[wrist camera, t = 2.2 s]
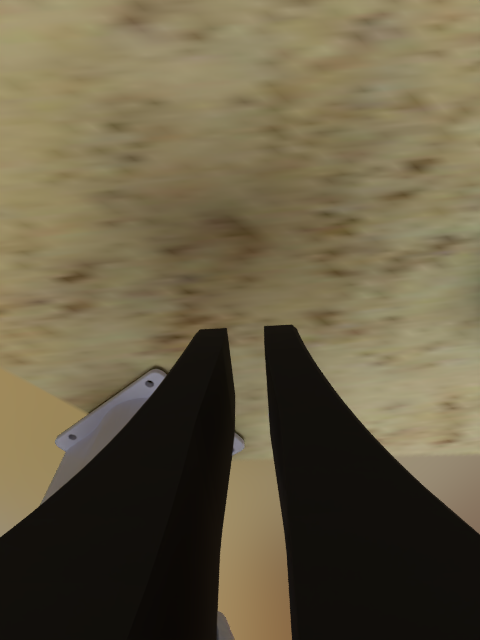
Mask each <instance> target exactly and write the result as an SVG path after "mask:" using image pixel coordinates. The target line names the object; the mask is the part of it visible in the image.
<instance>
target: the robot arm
mask: <svg viewBox="0 0 480 640" xmlns="http://www.w3.org/2000/svg"><path fill="white" fill-rule="evenodd" d="M264 345H265V360H266V375H267V391H268V406H269V422H270V436H271V443H272V450H273V457H274V464H275V470H276V477H277V484H278V491H279V498H280V505H281V512H282V518H283V525H284V533H285V542H286V551H287V566H288V582H289V596H290V597H289V598H290V614H291V630H292V640H480V534H479V533H477V532H476V531H475V530H474V529H473V528H472V527H470V526H469V525H468V524H467V523H466V522H465V521H463V520H462V519H461V518H460V517H459V516H457V514H455V513H454V512H453V511H452V510H451V509H450V508H448V507H447V506H446V505H445V504H444V503H443V502H441V501H440V500H439V499H438V498H437V497H436V496H435V495H433V494H432V493H431V492H430V491H429V490H428V489H426V488H425V487H424V486H423V485H422V484H421V483H420V482H419V481H418V480H417V479H416V478H414V477H413V476H412V475H411V474H410V473H409V472H408V471H407V470H406V469H405V468H404V467H403V466H402V465H401V464H400V463H399V462H398V461H397V460H396V459H395V458H394V457H393V456H392V455H391V454H390V453H389V452H388V451H387V450H386V449H385V448H384V447H383V446H382V445H381V444H380V443H379V442H378V441H377V440H376V439H375V437H374V436H373V435H372V434H371V433H370V432H369V431H368V430H367V429H366V428H365V426H364V425H363V424H362V423H361V422H360V421H359V420H358V418H357V417H356V416H355V415H354V414H353V412H352V411H351V410H350V409H349V408H348V406H347V405H346V404H345V403H344V401H343V400H342V399H341V398H340V396H339V395H338V394H337V392H336V391H335V390H334V388H333V387H332V386H331V384H330V383H329V382H328V380H327V379H326V377H325V376H324V375H323V373H322V372H321V370H320V369H319V367H318V366H317V364H316V363H315V361H314V360H313V358H312V357H311V355H310V353H309V352H308V350H307V348H306V347H305V345H304V343H303V341H302V339H301V337H300V335H299V333H298V331H297V329H296V328H295V327H294V326H293V325H276V326H264ZM148 380H149V381H152V382H153V383H149V382H148ZM55 444H56V445H57V446H58V447H59V448H61V449H62V450H64V451H65V452H66V453H65V455H64V457H63V459H62V461H61V463H60V465H59V467H58V469H57V471H56V473H55V475H54V477H53V480H52V482H51V484H50V486H49V488H48V490H47V492H46V494H45V496H44V498H43V500H42V502H41V504H40V506H39V507H38V508H37V509H35V510H34V511H33V512H32V513H31V514H29V515H28V516H27V517H26V518H25V519H23V520H22V521H21V522H19V523H18V524H17V525H16V526H14V527H13V528H12V529H11V530H9V531H8V532H7V533H5V534H4V535H3V536H2V537H0V640H234V637H233V634H232V632H231V630H230V627H229V624H228V622H227V620H226V617H225V616H224V615H223V614H222V613H221V612H218V586H219V563H220V548H221V537H222V528H223V520H224V512H225V506H226V498H227V490H228V483H229V475H230V468H231V460H232V455H234V454H236V453H238V452H240V451H241V450H243V449H244V446H245V443H244V440H243V439H242V438H241V437H240V436H239V435H237V434H236V433H235V390H234V382H233V374H232V366H231V358H230V350H229V342H228V333H227V328H220V329H201V330H199V331H198V332H197V333H196V334H195V336H194V337H193V339H192V340H191V342H190V343H189V345H188V346H187V348H186V349H185V351H184V352H183V354H182V355H181V356H180V358H179V359H178V361H177V362H176V363H175V365H174V366H173V368H172V369H171V370H170V372H169V373H168V374H166V373H164V372H163V371H162V370H159V369H152V370H150V371H149V372H147V373H146V374H145V375H143V376H142V377H140V378H139V379H138V380H136V381H135V382H133V383H132V384H130V385H129V386H128V387H126V388H125V389H123V390H122V391H121V392H119V393H118V394H116V395H115V396H113V397H112V398H111V399H109V400H108V401H106V402H105V403H104V404H102V405H101V406H99V407H98V408H97V409H95V410H94V411H92V412H91V413H89V414H88V415H87V416H85V417H84V418H82V419H81V420H80V421H78V422H77V423H75V424H74V425H72V426H71V427H70V428H68V429H67V430H65V431H64V432H63V433H61V434H60V435H58V437H57V438H56V440H55Z"/></svg>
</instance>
